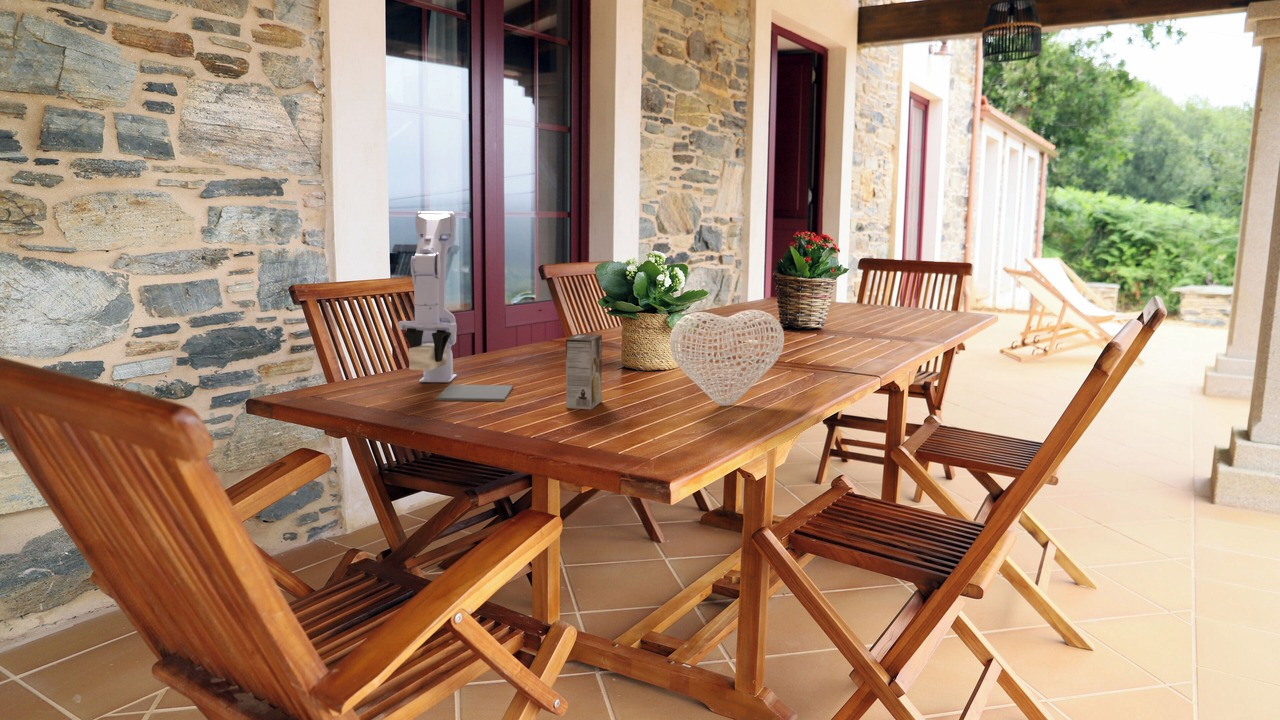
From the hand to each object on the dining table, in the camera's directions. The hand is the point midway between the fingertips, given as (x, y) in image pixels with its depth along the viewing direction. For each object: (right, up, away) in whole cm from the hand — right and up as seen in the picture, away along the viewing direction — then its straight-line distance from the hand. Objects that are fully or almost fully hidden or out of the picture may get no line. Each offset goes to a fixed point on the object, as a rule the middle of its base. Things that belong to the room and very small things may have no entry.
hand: (428, 360), depth 217 cm
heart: (+71, -11, -6) cm, 72 cm away
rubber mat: (+11, -8, +3) cm, 14 cm away
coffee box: (+38, -11, -8) cm, 40 cm away
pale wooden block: (0, -2, 0) cm, 2 cm away
